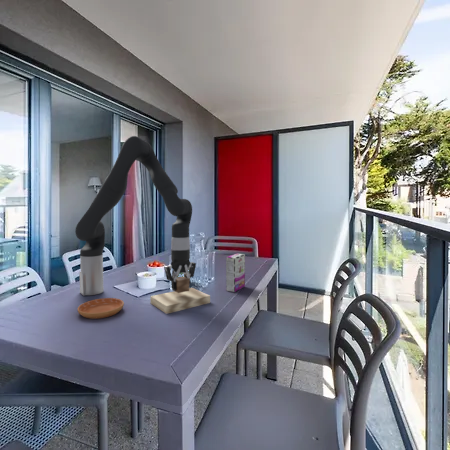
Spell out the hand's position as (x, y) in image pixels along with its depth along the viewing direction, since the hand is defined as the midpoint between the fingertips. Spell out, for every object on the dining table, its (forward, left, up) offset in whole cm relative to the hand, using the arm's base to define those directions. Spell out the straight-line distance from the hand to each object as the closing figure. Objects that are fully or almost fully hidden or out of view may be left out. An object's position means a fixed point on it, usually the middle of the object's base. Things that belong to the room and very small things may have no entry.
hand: (180, 288), depth 118 cm
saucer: (-29, +10, -6) cm, 31 cm away
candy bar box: (+31, +2, -6) cm, 32 cm away
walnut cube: (0, 0, -1) cm, 1 cm away
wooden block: (0, 0, -6) cm, 6 cm away
